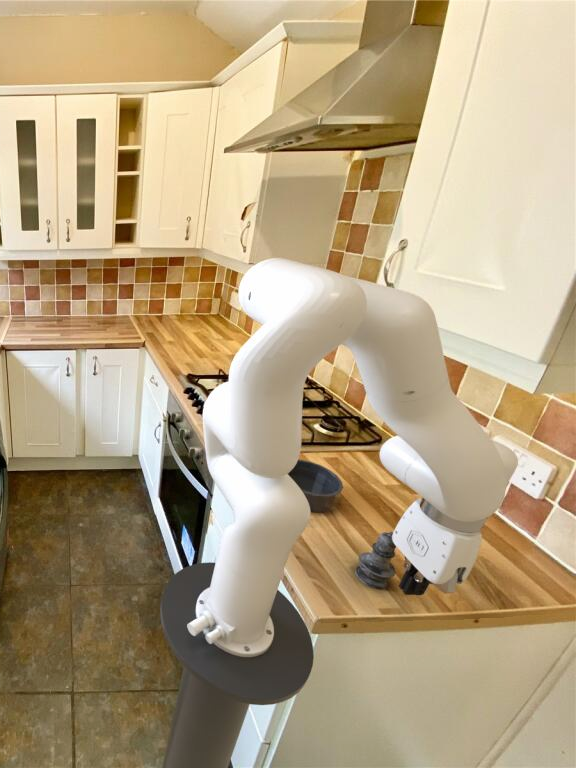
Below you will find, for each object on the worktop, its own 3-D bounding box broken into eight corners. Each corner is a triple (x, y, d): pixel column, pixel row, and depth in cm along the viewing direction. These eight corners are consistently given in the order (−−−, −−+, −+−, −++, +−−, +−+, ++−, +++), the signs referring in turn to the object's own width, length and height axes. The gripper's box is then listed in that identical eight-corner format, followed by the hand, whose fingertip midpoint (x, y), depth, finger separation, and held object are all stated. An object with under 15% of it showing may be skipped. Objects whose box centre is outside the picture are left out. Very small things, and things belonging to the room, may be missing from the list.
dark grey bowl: (314, 520, 95) (320, 504, 93) (260, 485, 106) (264, 469, 104) (349, 499, 101) (355, 483, 99) (294, 468, 113) (298, 453, 110)
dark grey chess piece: (379, 567, 83) (400, 522, 78) (395, 592, 78) (419, 546, 73) (348, 563, 84) (366, 518, 79) (361, 587, 79) (382, 541, 74)
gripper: (393, 480, 71) (361, 556, 79) (470, 548, 58) (422, 632, 65) (436, 480, 71) (400, 556, 79) (524, 548, 58) (469, 632, 65)
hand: (410, 590), depth 72 cm, fingers closed
